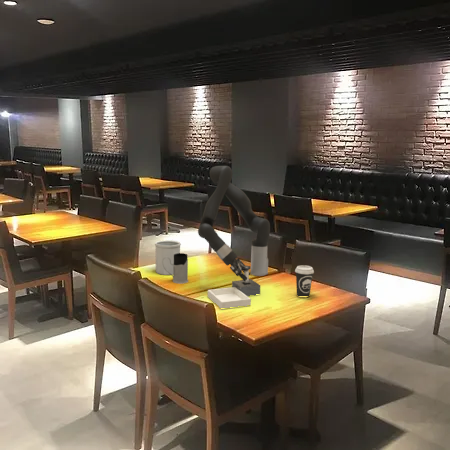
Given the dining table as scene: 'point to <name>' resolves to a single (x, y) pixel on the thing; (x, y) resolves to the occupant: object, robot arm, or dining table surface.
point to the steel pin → (246, 274)
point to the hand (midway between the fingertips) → (247, 277)
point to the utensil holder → (166, 255)
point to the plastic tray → (229, 297)
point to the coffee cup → (304, 280)
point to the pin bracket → (247, 287)
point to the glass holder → (179, 268)
